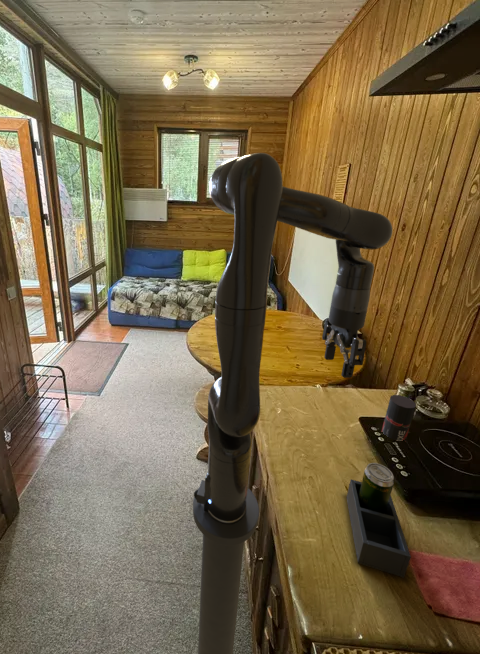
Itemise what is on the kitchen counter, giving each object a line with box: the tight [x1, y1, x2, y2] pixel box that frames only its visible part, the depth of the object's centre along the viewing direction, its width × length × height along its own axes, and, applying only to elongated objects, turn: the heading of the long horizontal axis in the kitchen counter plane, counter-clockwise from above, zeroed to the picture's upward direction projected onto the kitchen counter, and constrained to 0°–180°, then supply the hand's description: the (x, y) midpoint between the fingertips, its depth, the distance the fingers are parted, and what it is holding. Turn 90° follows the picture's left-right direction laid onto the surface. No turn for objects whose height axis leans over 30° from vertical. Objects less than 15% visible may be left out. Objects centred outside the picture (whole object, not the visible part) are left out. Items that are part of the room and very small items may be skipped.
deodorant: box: [381, 394, 417, 441], centre depth 87 cm, size 6×6×15 cm
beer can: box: [358, 462, 395, 514], centre depth 66 cm, size 5×5×12 cm
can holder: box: [345, 479, 412, 578], centre depth 64 cm, size 8×15×6 cm, turn 162°
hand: (337, 367), depth 75 cm, fingers open, 8 cm apart
